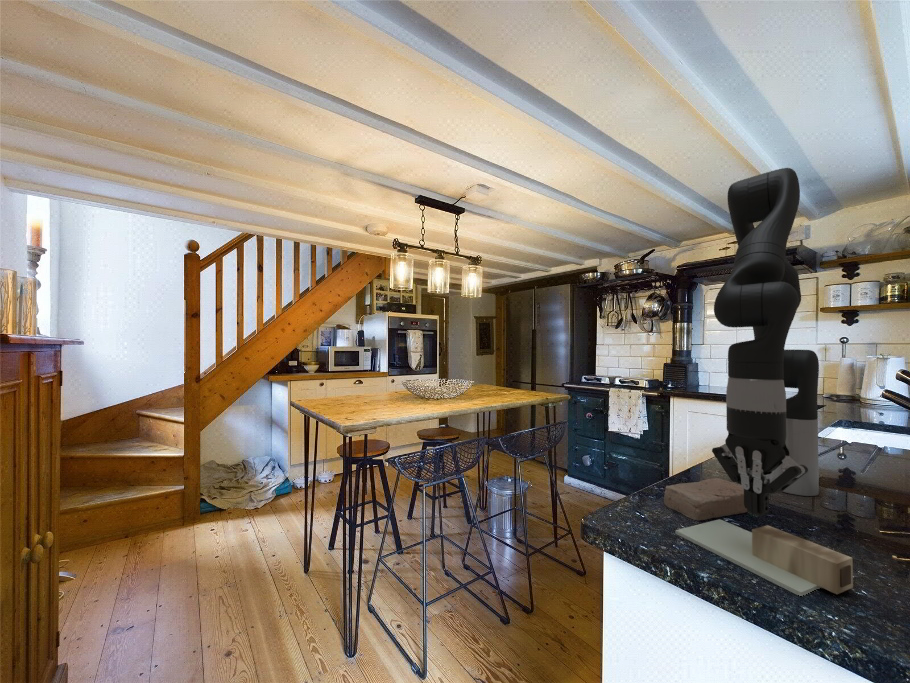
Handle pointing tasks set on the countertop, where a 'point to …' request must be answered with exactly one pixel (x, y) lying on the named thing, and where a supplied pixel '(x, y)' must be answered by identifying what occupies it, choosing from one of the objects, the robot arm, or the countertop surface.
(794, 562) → the beech block
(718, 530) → the flat grey rectangular slab
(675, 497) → the brick
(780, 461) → the robot arm
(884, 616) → the countertop surface
